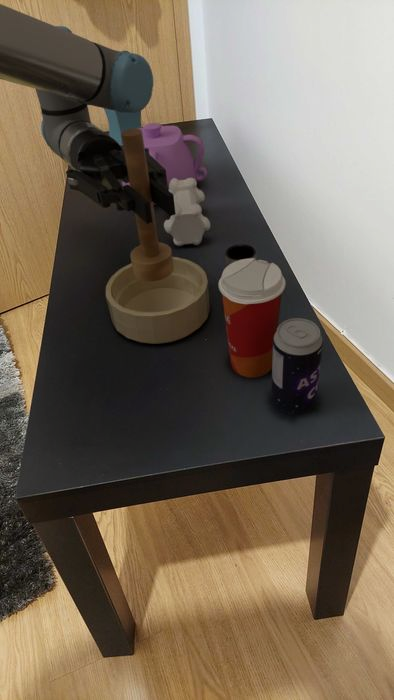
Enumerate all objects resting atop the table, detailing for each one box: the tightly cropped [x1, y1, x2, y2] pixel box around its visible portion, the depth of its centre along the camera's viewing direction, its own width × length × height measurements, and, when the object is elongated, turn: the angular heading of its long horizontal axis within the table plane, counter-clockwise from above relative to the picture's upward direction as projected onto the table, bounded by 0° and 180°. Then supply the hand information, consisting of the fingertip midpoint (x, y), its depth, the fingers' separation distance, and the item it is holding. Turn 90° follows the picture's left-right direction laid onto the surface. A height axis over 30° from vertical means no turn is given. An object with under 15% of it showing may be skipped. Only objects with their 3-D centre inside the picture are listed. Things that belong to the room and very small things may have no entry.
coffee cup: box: [218, 258, 286, 378], centre depth 67 cm, size 8×8×15 cm
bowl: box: [105, 256, 211, 345], centre depth 80 cm, size 16×16×6 cm
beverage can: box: [271, 317, 324, 415], centre depth 62 cm, size 6×6×12 cm
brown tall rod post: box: [121, 129, 174, 282], centre depth 69 cm, size 6×6×20 cm
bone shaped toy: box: [163, 178, 211, 247], centre depth 99 cm, size 15×9×8 cm, turn 5°
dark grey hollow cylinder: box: [224, 243, 257, 268], centre depth 78 cm, size 4×4×10 cm
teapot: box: [121, 122, 208, 206], centre depth 111 cm, size 19×21×14 cm
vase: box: [103, 108, 143, 147], centre depth 136 cm, size 8×8×20 cm
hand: (160, 209), depth 64 cm, fingers closed on brown tall rod post, 3 cm apart
